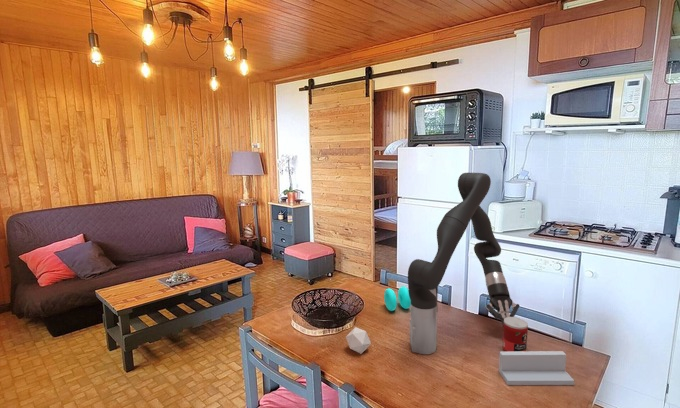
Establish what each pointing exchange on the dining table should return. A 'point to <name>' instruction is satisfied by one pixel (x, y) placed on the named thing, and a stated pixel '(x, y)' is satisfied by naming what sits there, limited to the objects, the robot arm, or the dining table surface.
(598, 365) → the dining table surface
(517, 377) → the stop board
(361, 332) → the die
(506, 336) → the canned food
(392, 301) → the pair of cyan discs
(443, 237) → the robot arm
